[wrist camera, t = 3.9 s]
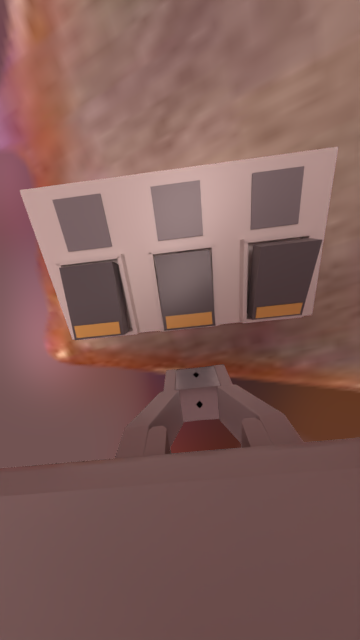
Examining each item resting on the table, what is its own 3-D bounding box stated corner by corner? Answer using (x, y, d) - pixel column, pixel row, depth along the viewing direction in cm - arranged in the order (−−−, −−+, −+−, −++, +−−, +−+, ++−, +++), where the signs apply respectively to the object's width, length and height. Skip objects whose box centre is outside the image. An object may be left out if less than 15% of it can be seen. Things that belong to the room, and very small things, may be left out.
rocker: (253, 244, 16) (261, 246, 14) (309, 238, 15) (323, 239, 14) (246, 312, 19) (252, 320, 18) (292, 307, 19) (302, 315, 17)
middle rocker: (157, 259, 17) (154, 256, 15) (207, 253, 17) (210, 249, 15) (165, 327, 18) (164, 331, 17) (212, 322, 18) (215, 325, 16)
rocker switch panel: (47, 202, 19) (7, 185, 14) (308, 167, 18) (350, 137, 13) (87, 328, 24) (66, 343, 19) (292, 306, 23) (319, 318, 18)
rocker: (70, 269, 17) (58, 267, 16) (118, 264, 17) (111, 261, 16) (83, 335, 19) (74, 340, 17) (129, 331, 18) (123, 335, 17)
